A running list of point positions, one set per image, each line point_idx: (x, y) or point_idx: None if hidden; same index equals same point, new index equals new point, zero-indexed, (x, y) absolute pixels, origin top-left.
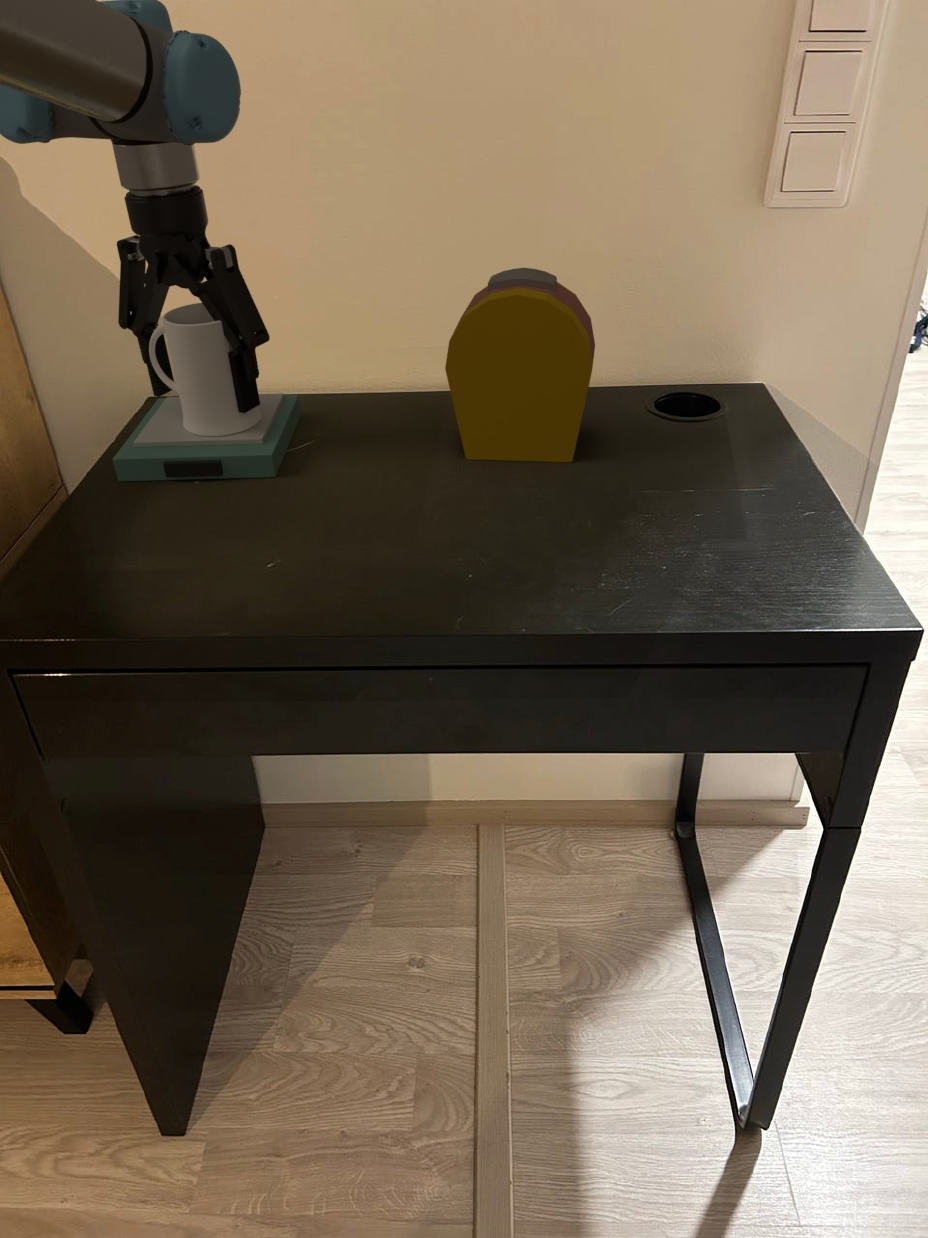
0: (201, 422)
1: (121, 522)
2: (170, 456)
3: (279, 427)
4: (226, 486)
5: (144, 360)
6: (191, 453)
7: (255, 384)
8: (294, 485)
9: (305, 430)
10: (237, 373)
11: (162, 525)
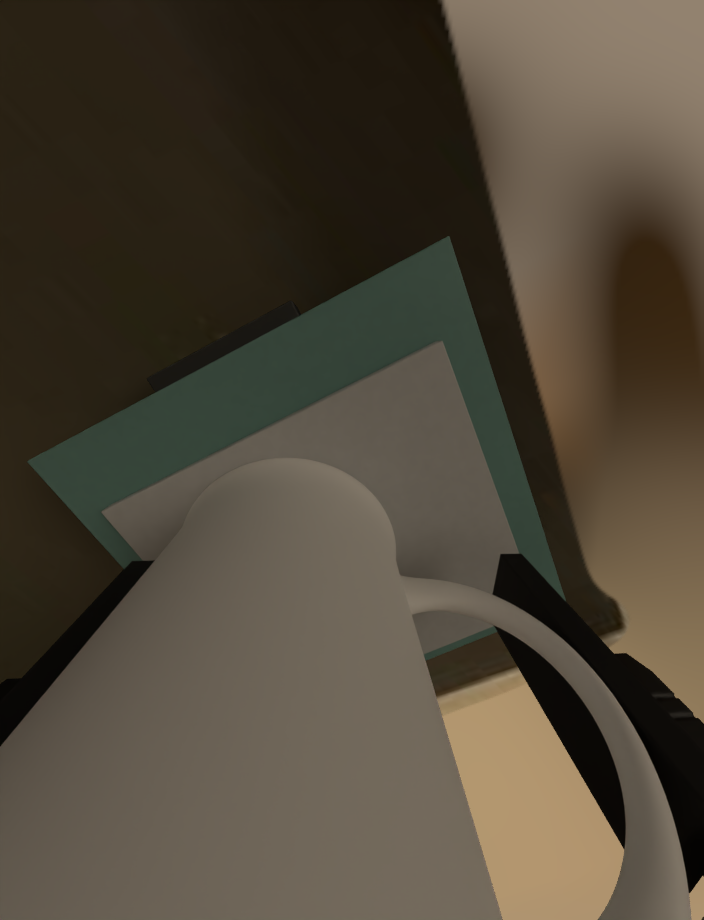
0: (257, 479)
1: (229, 10)
2: (285, 332)
3: None
4: (144, 354)
5: (636, 666)
6: (242, 376)
7: None
8: (3, 426)
9: None
10: (3, 703)
11: (99, 53)
